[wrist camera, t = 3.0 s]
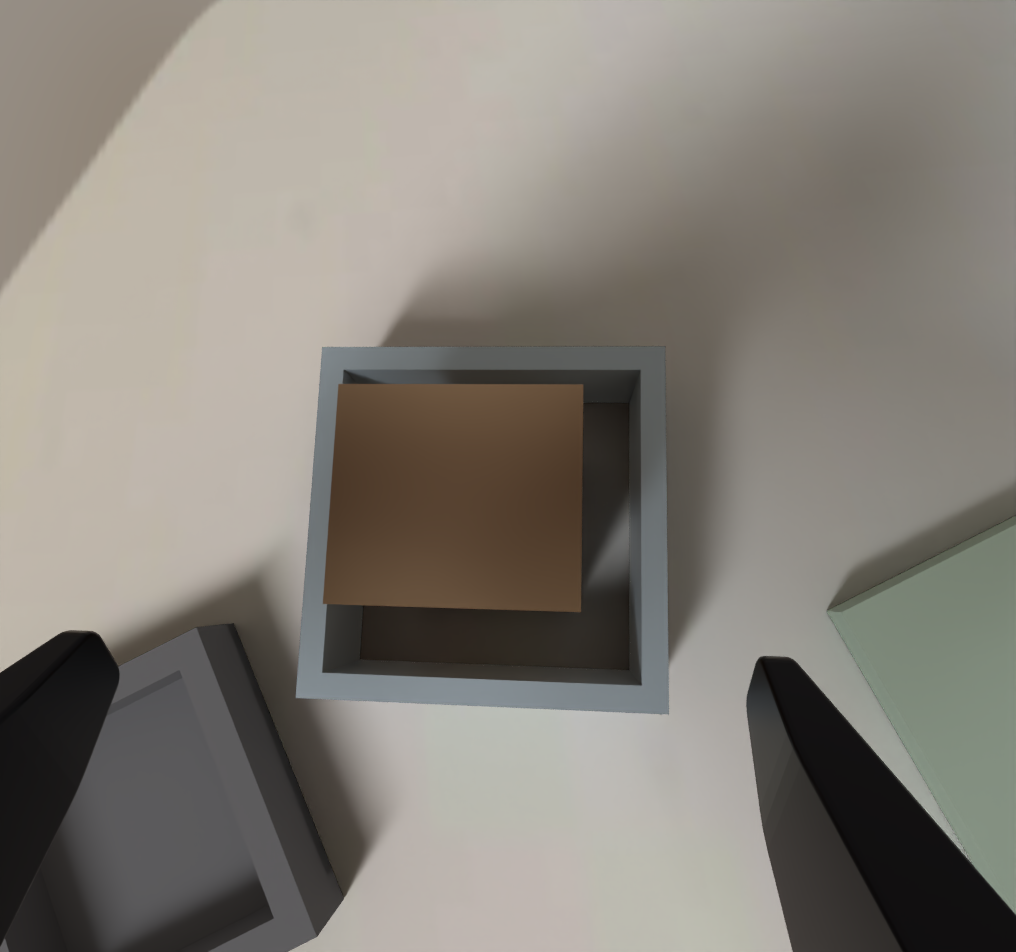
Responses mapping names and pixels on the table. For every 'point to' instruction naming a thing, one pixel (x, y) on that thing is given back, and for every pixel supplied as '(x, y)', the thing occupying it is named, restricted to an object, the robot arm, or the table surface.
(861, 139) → the table surface
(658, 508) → the blue-grey square tray
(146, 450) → the table surface
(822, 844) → the robot arm
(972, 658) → the sage plate
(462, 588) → the walnut block
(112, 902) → the trap tray
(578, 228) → the table surface
